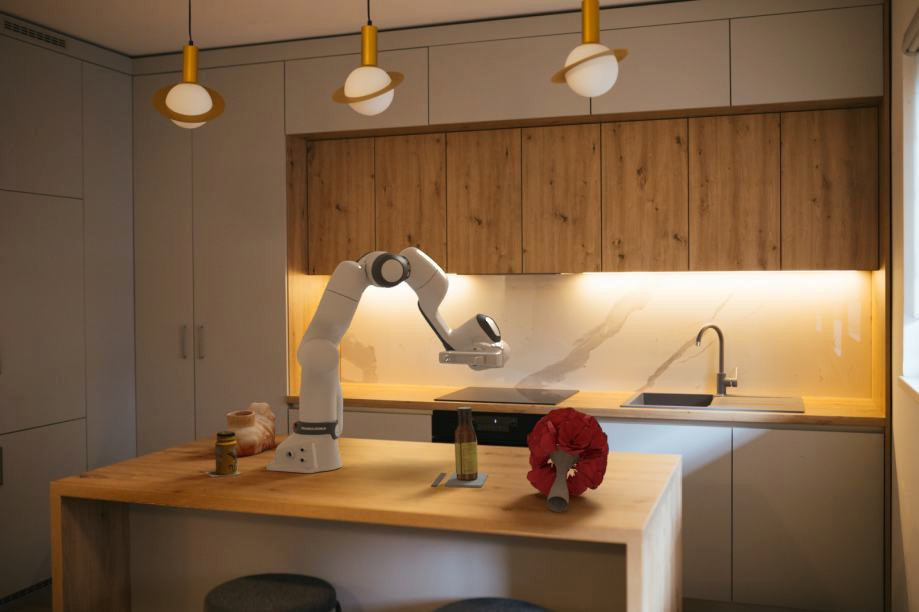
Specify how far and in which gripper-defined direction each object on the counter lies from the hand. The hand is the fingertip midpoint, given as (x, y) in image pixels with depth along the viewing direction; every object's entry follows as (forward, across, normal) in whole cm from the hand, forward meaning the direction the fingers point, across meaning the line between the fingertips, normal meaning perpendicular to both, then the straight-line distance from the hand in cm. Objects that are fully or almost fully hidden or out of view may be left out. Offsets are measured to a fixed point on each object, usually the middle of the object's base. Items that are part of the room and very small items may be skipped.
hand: (458, 360), depth 263 cm
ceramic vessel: (+10, -74, +32) cm, 81 cm away
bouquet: (+24, +43, +32) cm, 59 cm away
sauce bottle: (+17, +11, +32) cm, 37 cm away
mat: (+17, +12, +32) cm, 38 cm away
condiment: (+41, -56, +32) cm, 77 cm away
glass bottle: (-15, -61, +32) cm, 70 cm away
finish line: (+19, +4, +32) cm, 38 cm away
